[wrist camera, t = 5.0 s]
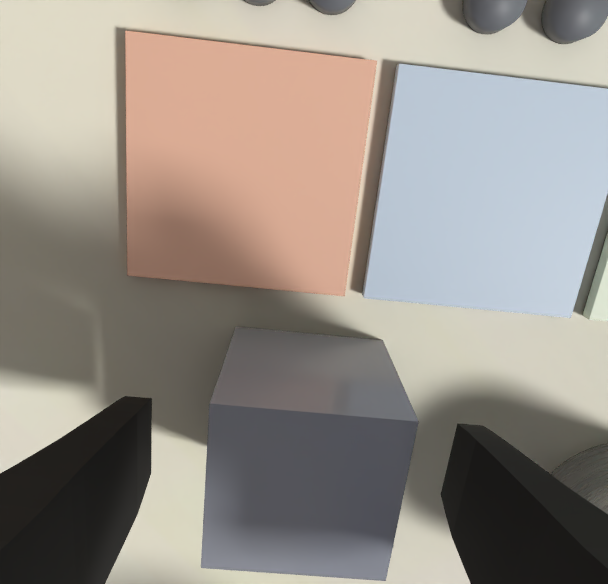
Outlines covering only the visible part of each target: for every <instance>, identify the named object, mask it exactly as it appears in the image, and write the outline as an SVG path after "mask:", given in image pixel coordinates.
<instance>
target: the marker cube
mask: <svg viewBox="0 0 608 584" xmlns="http://www.w3.org/2000/svg"><path fill="white" fill-rule="evenodd" d="M418 422H419V421H418V419H417V417H416V415H415V412H414V410H413V408H412V405H411V403H410V401H409V399H408V396H407V394H406V392H405V390H404V387H403V385H402V383H401V380H400V378H399V376H398V374H397V371H396V369H395V367H394V365H393V362H392V360H391V358H390V356H389V353H388V351H387V349H386V346H385V344H384V342H383V340H376V339H366V338H355V337H344V336H333V335H322V334H311V333H301V332H290V331H279V330H268V329H257V328H246V327H236V328H235V331H234V334H233V336H232V339H231V342H230V345H229V348H228V351H227V354H226V357H225V360H224V363H223V366H222V369H221V371H220V374H219V377H218V380H217V383H216V386H215V389H214V392H213V395H212V398H211V401H210V404H209V423H208V442H207V462H206V481H205V500H204V519H203V539H202V558H201V568H209V569H224V570H238V571H252V572H266V573H280V574H295V575H309V576H323V577H337V578H351V579H366V580H380V581H386V577H387V572H388V567H389V562H390V557H391V553H392V548H393V543H394V538H395V533H396V528H397V524H398V519H399V514H400V509H401V504H402V499H403V495H404V490H405V485H406V480H407V475H408V470H409V466H410V461H411V456H412V451H413V446H414V441H415V436H416V432H417V427H418Z"/></svg>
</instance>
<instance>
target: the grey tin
mask: <svg viewBox="0 0 608 584" xmlns="http://www.w3.org/2000/svg"><path fill="white" fill-rule="evenodd" d="M551 475H552V476H553V477H555V478H556V479H557V480H559V481H560V482H562V483H563V484H564V485H566V486H567V487H569V488H570V489H571V490H573V491H574V492H576V493H577V494H578V495H580V496H581V497H583V498H584V499H586V500H587V501H589V502H590V503H592V504H593V505H595V506H596V507H598V508H599V509H601V510H602V511H604V512H605V513H607V514H608V444H603V445H599V446H596V447H593V448H590V449H588V450H585V451H583V452H581V453H579V454H577V455H575V456H573V457H572V458H570V459H568V460H567V461H566V462H564V463H563V464H561V465H560V466H559V467H558V468H557V469H556V470H554V471H553V472H552V473H551Z"/></svg>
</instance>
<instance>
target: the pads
mask: <svg viewBox="0 0 608 584" xmlns="http://www.w3.org/2000/svg"><path fill="white" fill-rule="evenodd" d="M244 1H246V2H247V3H249V4H252V5H255V6H265V5H268V4H271V3H272V2H274V1H275V0H244ZM309 1H310V3H311V4H312V5H313V6H314V7H315V8H316V9H317V10H318V11H320V12H322V13H324V14H327V15H337V14H341V13H343V12H345V11H347V10H348V9H349V8H350V7H351V6H352V5H353V4H354V2H355V1H356V0H309ZM526 3H527V0H463V14H464V17H465V20H466V22H467V24H468V25H469V26H470V27H471V28H472V29H473V30H474V31H476V32H478V33H481V34H493V33H496V32H498V31H500V30H502V29H504V28H505V27H507V26H509V25H511V24H512V23H514V22H515V21H516V20H517V19H518V18H519V17H520V15H521V14H522V12H523V10H524V8H525V6H526ZM607 16H608V0H547V1H546V3H545V5H544V8H543V12H542V25H543V29H544V31H545V33H546V35H547V36H548V37H549V38H550V39H551V40H552V41H554V42H556V43H560V44H569V43H573V42H576V41H578V40H581V39H584V38H586V37H589V36H591V35H592V34H594V33H595V32H596V31H598V30H599V29H600V28H601V26H602V25H603V24H604V22H605V20H606V19H607ZM125 45H126V171H127V275H128V276H138V277H149V278H159V279H170V280H180V281H190V282H201V283H211V284H222V285H232V286H243V287H253V288H264V289H274V290H284V291H295V292H305V293H316V294H326V295H337V296H345V290H346V282H347V275H348V268H349V261H350V253H351V246H352V239H353V232H354V224H355V217H356V210H357V203H358V196H359V188H360V181H361V174H362V167H363V159H364V152H365V145H366V138H367V130H368V123H369V116H370V109H371V102H372V94H373V87H374V80H375V73H376V65H377V61H374V60H366V59H357V58H349V57H341V56H332V55H324V54H316V53H307V52H299V51H291V50H283V49H274V48H266V47H258V46H249V45H241V44H233V43H225V42H216V41H208V40H200V39H191V38H183V37H175V36H166V35H158V34H150V33H142V32H133V31H125ZM607 194H608V89H606V88H598V87H589V86H581V85H573V84H565V83H556V82H548V81H540V80H531V79H523V78H515V77H507V76H498V75H490V74H482V73H473V72H465V71H457V70H448V69H440V68H432V67H424V66H415V65H407V64H398V65H397V66H396V73H395V80H394V86H393V93H392V100H391V106H390V113H389V120H388V126H387V133H386V140H385V146H384V153H383V160H382V166H381V173H380V180H379V186H378V193H377V200H376V206H375V213H374V220H373V226H372V233H371V240H370V246H369V253H368V260H367V266H366V273H365V280H364V286H363V293H362V295H363V297H364V298H368V299H379V300H389V301H399V302H410V303H420V304H431V305H441V306H452V307H462V308H473V309H483V310H493V311H504V312H514V313H525V314H535V315H546V316H556V317H567V318H571V316H572V312H573V309H574V306H575V302H576V299H577V295H578V292H579V289H580V285H581V282H582V279H583V275H584V272H585V268H586V265H587V262H588V258H589V255H590V251H591V248H592V245H593V241H594V238H595V234H596V231H597V228H598V224H599V221H600V218H601V214H602V211H603V207H604V204H605V201H606V197H607ZM583 316H584V317H586V318H587V319H589V320H598V321H608V233H607V236H606V240H605V243H604V246H603V250H602V253H601V256H600V260H599V263H598V266H597V270H596V273H595V276H594V279H593V283H592V286H591V289H590V293H589V296H588V299H587V303H586V306H585V309H584V312H583Z"/></svg>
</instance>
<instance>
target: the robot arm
mask: <svg viewBox="0 0 608 584" xmlns="http://www.w3.org/2000/svg"><path fill="white" fill-rule="evenodd" d="M151 419H152V398H141V397H128V396H125V397H123V398H121V399H119V400H118V401H116V402H115V403H113V404H112V405H110V406H109V407H107V408H106V409H104V410H103V411H101V412H100V413H98V414H97V415H95V416H94V417H92V418H91V419H89V420H88V421H86V422H85V423H83V424H82V425H80V426H79V427H77V428H76V429H74V430H72V431H71V432H69V433H68V434H66V435H65V436H63V437H62V438H60V439H59V440H57V441H55V442H54V443H52V444H50V445H49V446H47V447H45V448H44V449H42V450H40V451H39V452H37V453H35V454H33V455H32V456H30V457H28V458H27V459H25V460H23V461H22V462H20V463H18V464H17V465H15V466H13V467H11V468H10V469H8V470H6V471H4V472H2V473H0V584H105V582H106V580H107V578H108V576H109V574H110V572H111V569H112V567H113V565H114V563H115V561H116V559H117V557H118V555H119V553H120V551H121V548H122V546H123V544H124V542H125V540H126V538H127V536H128V533H129V531H130V529H131V527H132V525H133V523H134V521H135V518H136V516H137V514H138V511H139V508H140V505H141V502H142V499H143V496H144V493H145V490H146V487H147V484H148V481H149V478H150V475H151ZM441 497H442V501H443V505H444V509H445V513H446V517H447V521H448V524H449V528H450V531H451V535H452V538H453V540H454V543H455V546H456V548H457V551H458V553H459V556H460V558H461V561H462V563H463V566H464V568H465V571H466V573H467V575H468V578H469V580H470V583H471V584H608V514H607V513H605V512H604V511H602V510H601V509H599V508H598V507H596V506H595V505H593V504H592V503H590V502H589V501H587V500H586V499H584V498H583V497H581V496H580V495H578V494H577V493H576V492H574V491H573V490H571V489H570V488H569V487H567V486H566V485H564V484H563V483H562V482H560V481H559V480H557V479H556V478H555V477H553V476H552V475H551V474H549V473H548V472H546V471H545V470H544V469H542V468H541V467H540V466H538V465H537V464H536V463H534V462H533V461H532V460H530V459H529V458H528V457H526V456H525V455H524V454H522V453H521V452H520V451H518V450H517V449H516V448H514V447H513V446H512V445H510V444H509V443H508V442H506V441H505V440H503V439H502V438H501V437H499V436H498V435H496V434H495V433H493V432H492V431H490V430H489V429H487V428H486V427H484V426H480V425H468V424H457V428H456V432H455V437H454V441H453V445H452V449H451V454H450V458H449V462H448V466H447V470H446V475H445V479H444V483H443V487H442V492H441Z"/></svg>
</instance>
